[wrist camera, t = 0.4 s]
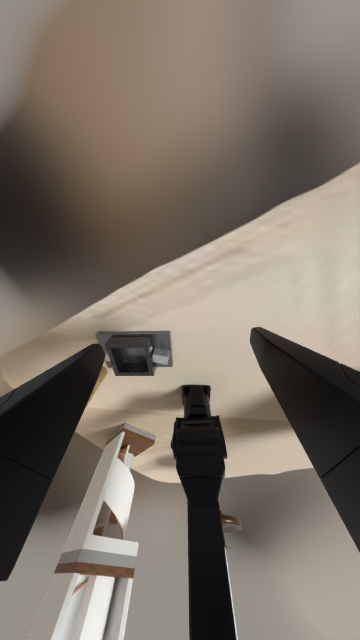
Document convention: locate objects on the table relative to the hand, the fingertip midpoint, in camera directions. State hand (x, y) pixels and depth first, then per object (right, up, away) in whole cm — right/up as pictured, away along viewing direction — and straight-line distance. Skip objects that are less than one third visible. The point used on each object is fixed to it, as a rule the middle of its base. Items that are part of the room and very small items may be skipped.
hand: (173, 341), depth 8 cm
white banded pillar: (-15, -36, +36) cm, 53 cm away
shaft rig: (-8, -4, +20) cm, 22 cm away
